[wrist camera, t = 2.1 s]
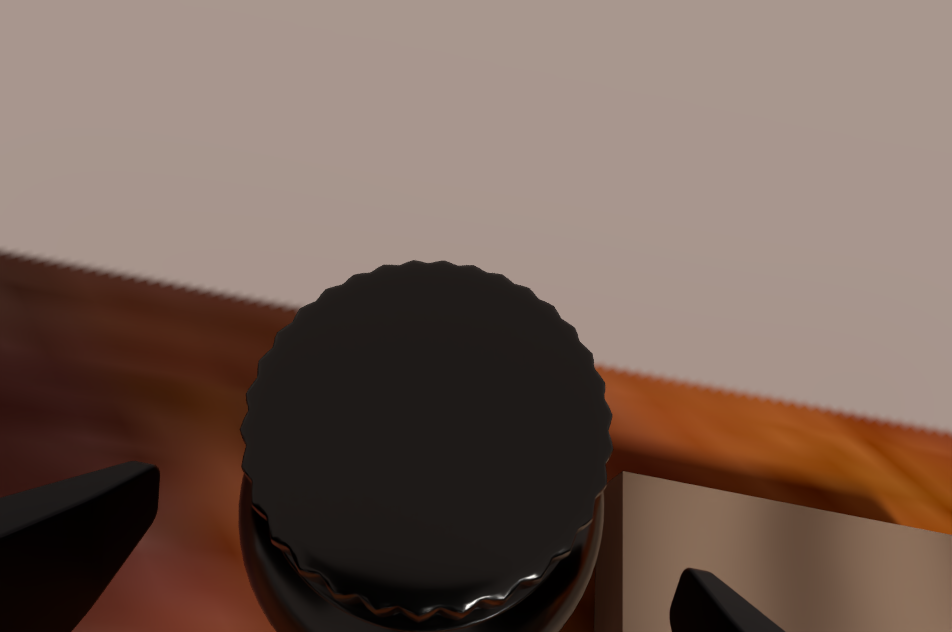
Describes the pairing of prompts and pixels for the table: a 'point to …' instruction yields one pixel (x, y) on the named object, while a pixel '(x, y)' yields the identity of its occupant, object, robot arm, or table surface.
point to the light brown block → (765, 561)
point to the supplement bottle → (424, 459)
